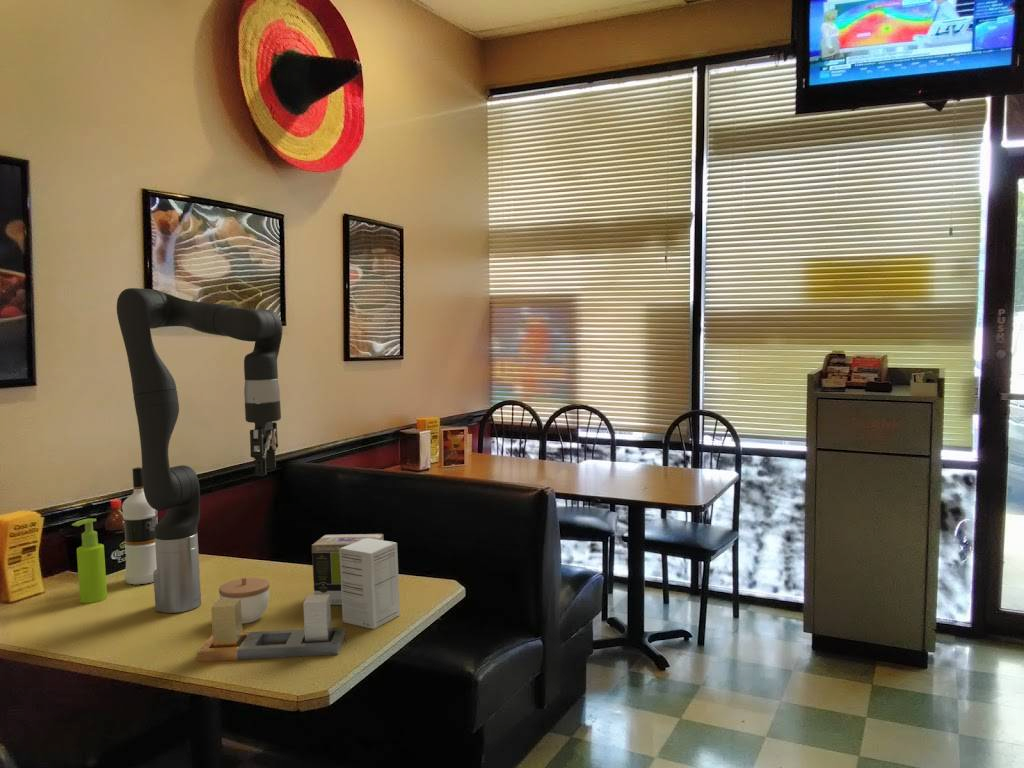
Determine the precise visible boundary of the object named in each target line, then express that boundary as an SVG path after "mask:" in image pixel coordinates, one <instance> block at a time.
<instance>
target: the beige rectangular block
mask: <svg viewBox="0 0 1024 768" xmlns="http://www.w3.org/2000/svg"><path fill="white" fill-rule="evenodd" d="M210 608H211V611H210V612H211V624H212V626H211V627H212V629H211V630H212V634H213V648H225V647H239V646H240V645H241V644H242V642H243V624H242V614H241V598H240V599H221V600H220V599H217V600H216V602H214V604H213V605H212V606H211V607H210Z"/></svg>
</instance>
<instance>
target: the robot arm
mask: <svg viewBox="0 0 1024 768" xmlns="http://www.w3.org/2000/svg"><path fill="white" fill-rule="evenodd" d="M116 314H117V320H118V324H119V328H120V332H121V336H122V339H123V343H124V347H125V351H126V356H127V362H128V366H129V372H130V378H131V383H132V384H131V385H132V387H131V388H132V394H133V401H134V402H133V403H134V408H135V413H136V419H137V425H138V432H139V440H140V449H141V450H140V451H141V454H140V455H141V468H142V478H143V490H144V494H145V498H146V500H147V502H148V504H149V505H150V506H151V507H152V508H153V509H155V510H157V511H165V510H167V512H166V513H165V515H164V516H163V517H162V519H160V520H159V521H158V523H157V524H156V526H155V528H154V534H155V550H156V567H157V569H156V570H155V571H154V572H153V576H154V582H153V589H154V590H153V591H154V606H155V612H161V613H166V614H174V613H175V614H176V613H183V612H188V611H191V610H193V609H197V608H198V607H200V606H201V604H202V593H201V577H200V575H201V574H200V571H201V570H200V559H199V558H200V554H199V539H198V538H199V537H198V525H199V523H200V519H201V490H200V489H201V488H200V487H201V486H200V482H199V478H198V475H197V473H196V471H195V470H194V469H193V468H191V466H188V465H184V464H183V465H176V466H172V467H171V466H170V460H169V458H170V457H169V446H170V441H171V439H172V434H173V432H174V429H175V426H176V424H177V421H178V418H179V413H180V406H179V405H180V403H179V395H178V390H177V385H176V382H175V378H174V377H173V375H172V373H171V372H170V370H169V369H168V367H167V366H166V365H165V363H164V361H162V359H161V358H160V356H159V354H158V352H157V351H156V348H155V346H154V342H153V337H152V331H151V329H152V330H153V329H158V328H165V327H167V328H168V327H185V328H189V329H193V330H195V331H197V332H200V333H204V334H210V335H216V336H221V337H229V338H232V339H235V340H238V341H242V342H243V341H244V342H252V343H253V342H254V347H253V351H251V352H250V353H247V354H245V356H244V360H243V367H244V368H243V372H244V373H243V374H244V387H243V396H244V397H243V399H244V414H245V415H244V416H245V417H244V418H245V421H246V422H247V423H250V424H251V423H254V429H249V430H250V431H249V442H250V443H249V444H250V458H252V459H253V460H254V472H255V476H256V477H265V476H266V475H267V474H268V473H267V470H274V469H276V467H277V462H276V461H277V460H276V452H277V449H278V447H279V439H278V424H277V422H278V421H280V420H281V419H282V412H281V411H282V409H281V408H282V407H281V391H280V390H281V389H280V384H279V376H278V375H279V373H278V372H279V371H278V357H279V353H280V348H281V343H282V337H283V324H282V320H281V318H280V316H279V315H278V313H277V312H275V311H274V310H271V309H257V308H256V309H255V308H241V307H237V306H234V305H229V304H224V303H216V302H210V301H209V302H207V301H195V300H189V299H188V300H187V299H186V298H185V299H184V298H181V297H178V296H174V295H173V294H169V293H167V292H164V291H161V290H158V289H154V288H152V289H151V288H137V287H136V288H135V287H133V288H130V287H129V288H126V289H124V290H122V291H121V292H120V293H119V295H118V297H117V300H116Z"/></svg>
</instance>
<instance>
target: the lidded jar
mask: <svg viewBox="0 0 1024 768" xmlns="http://www.w3.org/2000/svg"><path fill="white" fill-rule="evenodd" d="M218 592H219V600H221V599H240V598H241V614H242V625H243V624H244V625H245V624H249V623H253V622H257V621H258V620H259V619H260V618H261V616H262V615H263V614H264V613H265V611H266V610H267V607H268V604H269V600H270V581H269V580H268V579H266V578H262V577H246V576H245V577H244V576H243V577H241V578H237V579H233V580H229V581H227V582H224V583H223V584H221V585H220V587H219V588H218Z"/></svg>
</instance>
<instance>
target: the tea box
mask: <svg viewBox="0 0 1024 768" xmlns="http://www.w3.org/2000/svg"><path fill="white" fill-rule="evenodd" d="M365 538H371V539H377V540H383V541H385V539H384V534H383V533H366V534H365V533H364V534H363V533H358V534H357V533H356V534H355V533H353V534H352V533H350V534H348V533H346V534H343V533H342V534H325V535H323V536H322V537H320V538H319V539H318V540H316V541H315V542H314V543H313V544H311V556H312V557H311V558H312V561H311V562H312V577H313V578H312V579H313V580H312V581H313V595H327V594H330V606H332V605H333V606H335V605H336V606H342V595H341V575H340V555H339V549H340V548H342V547H345V546H347V545H350V544H352V543H355V542H358V541H360V540H363V539H365Z"/></svg>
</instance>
